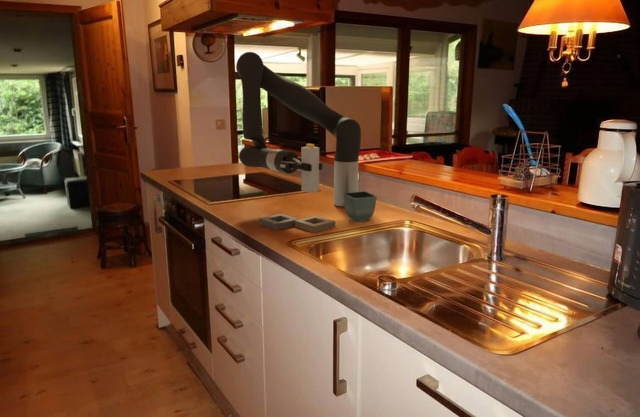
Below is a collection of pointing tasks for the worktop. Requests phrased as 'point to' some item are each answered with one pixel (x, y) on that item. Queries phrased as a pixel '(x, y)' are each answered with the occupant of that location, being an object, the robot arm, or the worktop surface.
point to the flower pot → (359, 205)
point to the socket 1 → (277, 221)
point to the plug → (312, 177)
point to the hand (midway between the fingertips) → (316, 167)
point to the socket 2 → (315, 223)
